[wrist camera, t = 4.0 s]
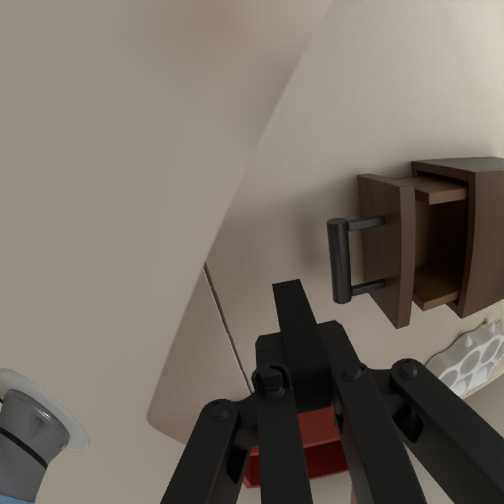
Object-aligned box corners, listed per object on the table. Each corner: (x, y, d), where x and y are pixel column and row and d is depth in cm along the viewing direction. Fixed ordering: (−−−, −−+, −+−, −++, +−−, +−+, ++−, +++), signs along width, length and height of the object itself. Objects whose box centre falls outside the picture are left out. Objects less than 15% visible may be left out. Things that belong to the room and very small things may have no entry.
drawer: (321, 298, 25) (344, 344, 18) (307, 182, 21) (334, 196, 15) (460, 261, 24) (500, 288, 18) (463, 164, 21) (511, 174, 14)
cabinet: (413, 275, 25) (461, 319, 17) (411, 161, 21) (475, 171, 13) (492, 251, 25) (538, 278, 17) (495, 157, 21) (550, 168, 13)
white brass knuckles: (411, 407, 34) (428, 342, 29) (488, 367, 33) (510, 300, 28) (419, 422, 31) (440, 358, 26) (498, 377, 30) (523, 311, 25)
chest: (245, 445, 34) (246, 488, 27) (226, 402, 30) (224, 455, 23) (342, 428, 34) (354, 469, 27) (345, 380, 30) (364, 429, 23)
